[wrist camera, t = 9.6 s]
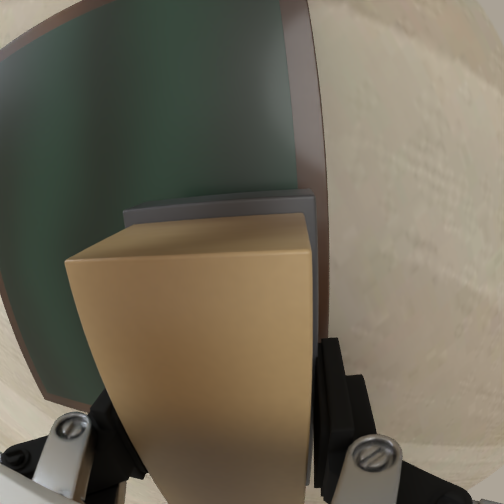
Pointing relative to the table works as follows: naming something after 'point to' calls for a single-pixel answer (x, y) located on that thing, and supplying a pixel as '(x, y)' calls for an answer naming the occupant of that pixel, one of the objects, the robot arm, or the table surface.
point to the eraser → (210, 341)
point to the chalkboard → (142, 144)
